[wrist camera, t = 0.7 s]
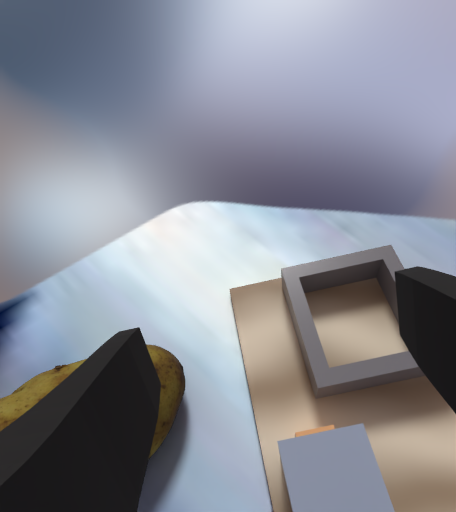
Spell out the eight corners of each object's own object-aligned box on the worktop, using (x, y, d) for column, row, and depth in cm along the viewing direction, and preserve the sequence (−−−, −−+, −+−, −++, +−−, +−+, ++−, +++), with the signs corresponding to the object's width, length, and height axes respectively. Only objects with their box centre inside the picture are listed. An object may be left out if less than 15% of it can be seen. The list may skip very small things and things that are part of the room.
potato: (215, 475, 22) (185, 459, 16) (6, 556, 21) (-119, 577, 15) (183, 350, 27) (150, 299, 20) (12, 413, 26) (-80, 380, 20)
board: (523, 546, 18) (529, 547, 18) (290, 593, 19) (290, 596, 18) (378, 260, 29) (379, 256, 28) (230, 292, 29) (229, 289, 29)
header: (439, 372, 23) (454, 359, 21) (315, 399, 23) (318, 388, 21) (382, 261, 28) (389, 242, 26) (281, 284, 28) (280, 266, 26)
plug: (373, 526, 19) (401, 531, 14) (298, 541, 19) (302, 552, 14) (343, 434, 22) (358, 411, 17) (277, 447, 22) (274, 429, 17)
